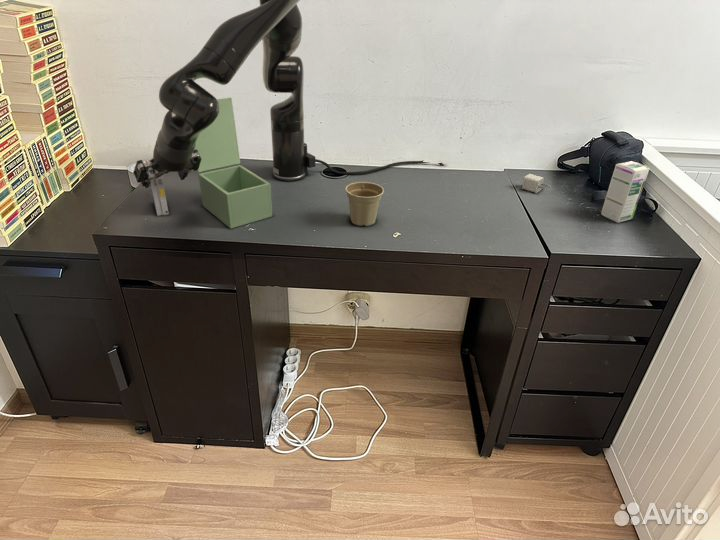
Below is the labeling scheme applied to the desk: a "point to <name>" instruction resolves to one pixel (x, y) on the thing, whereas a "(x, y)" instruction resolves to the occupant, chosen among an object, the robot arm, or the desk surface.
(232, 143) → the lid
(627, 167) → the syrup box
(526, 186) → the usb wall charger
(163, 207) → the walkman
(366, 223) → the flower pot
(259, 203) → the bin
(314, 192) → the desk surface
